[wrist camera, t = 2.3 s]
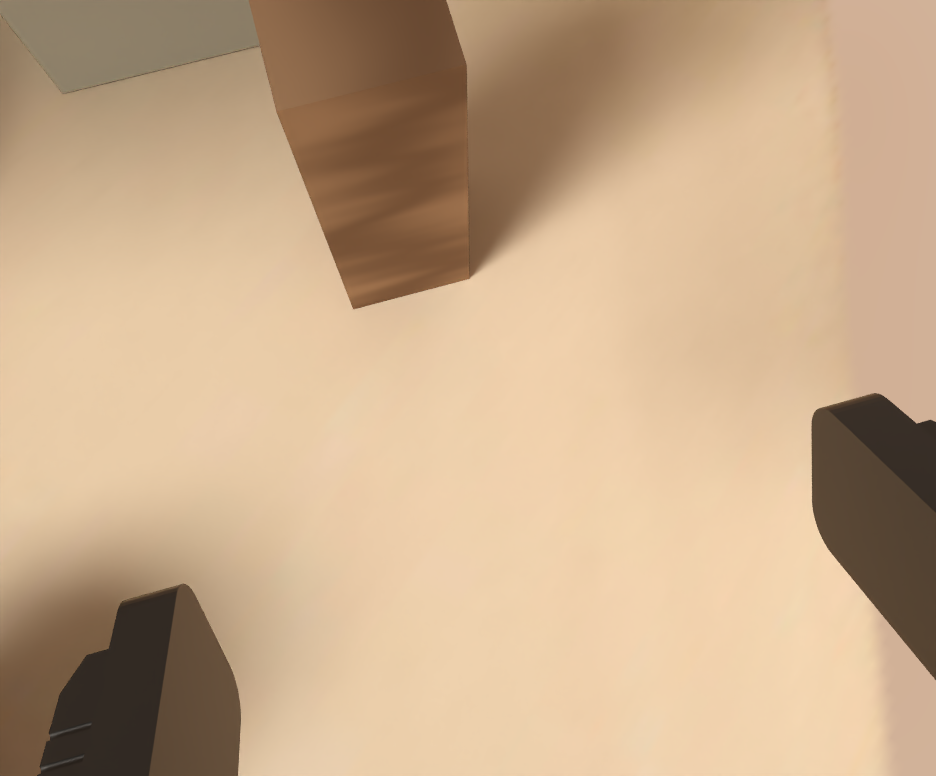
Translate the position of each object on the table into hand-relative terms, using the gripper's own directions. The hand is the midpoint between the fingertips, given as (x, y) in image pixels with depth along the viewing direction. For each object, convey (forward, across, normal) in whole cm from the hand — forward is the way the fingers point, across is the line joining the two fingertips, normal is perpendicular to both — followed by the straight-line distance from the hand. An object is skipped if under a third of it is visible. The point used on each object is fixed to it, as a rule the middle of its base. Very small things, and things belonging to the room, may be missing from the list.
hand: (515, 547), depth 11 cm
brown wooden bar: (+20, 0, +3) cm, 21 cm away
